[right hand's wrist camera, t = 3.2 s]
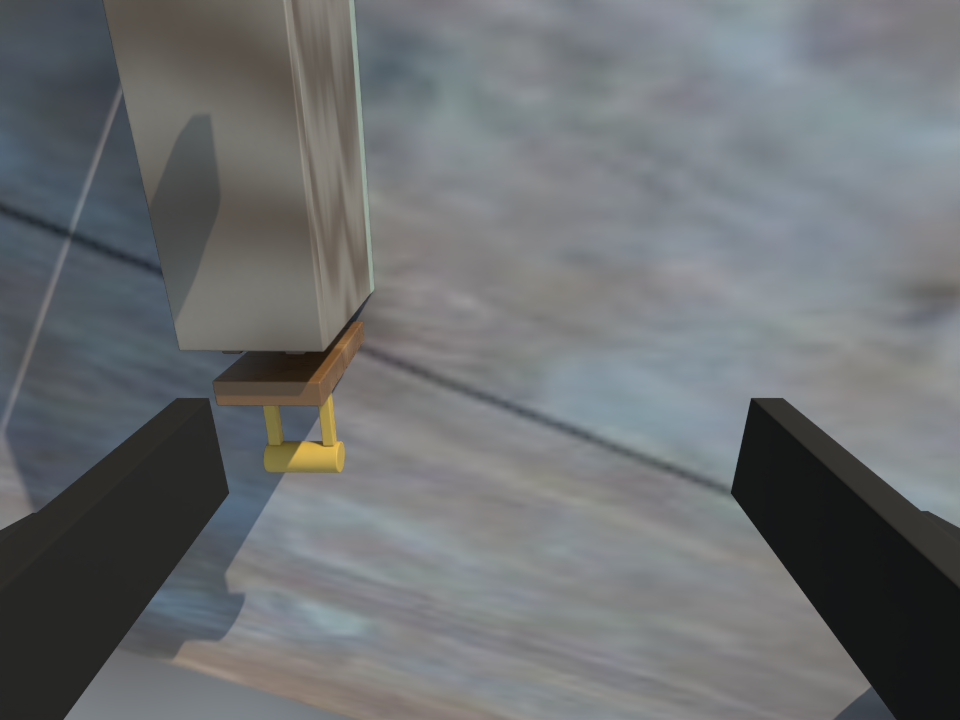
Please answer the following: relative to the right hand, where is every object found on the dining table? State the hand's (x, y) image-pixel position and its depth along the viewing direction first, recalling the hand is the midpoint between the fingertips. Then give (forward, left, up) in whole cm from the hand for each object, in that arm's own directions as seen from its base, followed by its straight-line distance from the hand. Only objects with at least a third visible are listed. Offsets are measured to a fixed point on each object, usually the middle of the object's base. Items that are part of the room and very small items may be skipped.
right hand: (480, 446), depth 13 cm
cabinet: (+10, +8, -19) cm, 23 cm away
